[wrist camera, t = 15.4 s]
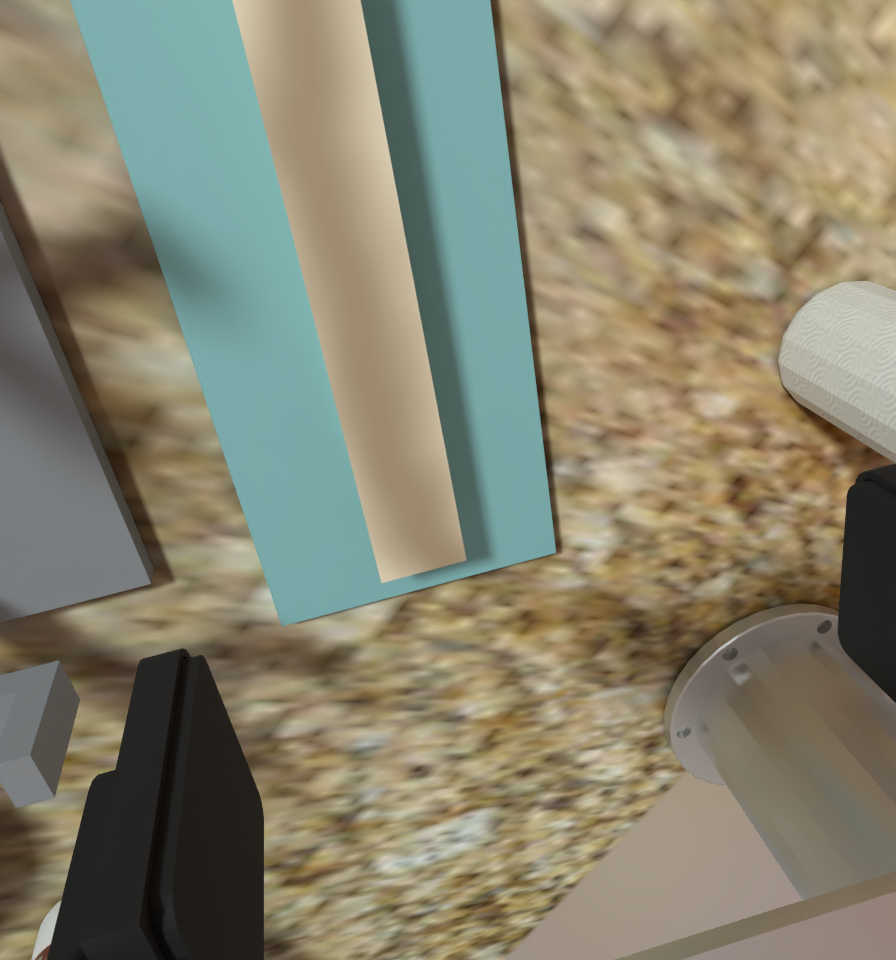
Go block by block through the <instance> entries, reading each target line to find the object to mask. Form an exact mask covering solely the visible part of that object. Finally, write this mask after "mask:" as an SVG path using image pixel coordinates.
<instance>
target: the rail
mask: <svg viewBox="0 0 896 960" xmlns="http://www.w3.org/2000/svg"><path fill="white" fill-rule="evenodd" d="M232 2H233V6H234V9H235V13H236V17H237V21H238V25H239V29H240V33H241V37H242V41H243V45H244V48H245V52H246V56H247V60H248V64H249V68H250V72H251V76H252V80H253V84H254V88H255V91H256V95H257V99H258V103H259V107H260V111H261V115H262V119H263V123H264V127H265V130H266V134H267V138H268V142H269V146H270V150H271V154H272V158H273V162H274V166H275V170H276V173H277V177H278V181H279V185H280V189H281V193H282V197H283V201H284V205H285V209H286V212H287V216H288V220H289V224H290V228H291V232H292V236H293V240H294V244H295V248H296V252H297V255H298V259H299V263H300V267H301V271H302V275H303V279H304V283H305V287H306V291H307V294H308V298H309V302H310V306H311V310H312V314H313V318H314V322H315V326H316V330H317V334H318V337H319V341H320V345H321V349H322V353H323V357H324V361H325V365H326V369H327V373H328V377H329V380H330V384H331V388H332V392H333V396H334V400H335V404H336V408H337V412H338V416H339V419H340V423H341V427H342V431H343V435H344V439H345V443H346V447H347V451H348V455H349V459H350V462H351V466H352V470H353V474H354V478H355V482H356V486H357V490H358V494H359V498H360V501H361V505H362V509H363V513H364V517H365V521H366V525H367V529H368V533H369V537H370V541H371V544H372V548H373V552H374V556H375V560H376V564H377V568H378V572H379V576H380V579H381V583H384V582H388V581H392V580H396V579H399V578H403V577H407V576H410V575H414V574H418V573H422V572H425V571H429V570H433V569H437V568H440V567H444V566H448V565H451V564H455V563H459V562H463V561H466V555H465V550H464V545H463V539H462V534H461V529H460V523H459V518H458V513H457V508H456V502H455V497H454V492H453V486H452V481H451V476H450V471H449V465H448V460H447V455H446V449H445V444H444V439H443V434H442V428H441V423H440V418H439V412H438V407H437V402H436V397H435V391H434V386H433V381H432V375H431V370H430V365H429V360H428V354H427V349H426V344H425V338H424V333H423V328H422V323H421V317H420V312H419V307H418V301H417V296H416V291H415V286H414V280H413V275H412V270H411V264H410V259H409V254H408V249H407V243H406V238H405V233H404V227H403V222H402V217H401V212H400V206H399V201H398V196H397V190H396V185H395V180H394V175H393V169H392V164H391V159H390V153H389V148H388V143H387V138H386V132H385V127H384V122H383V116H382V111H381V106H380V101H379V95H378V90H377V85H376V79H375V74H374V69H373V64H372V58H371V53H370V48H369V42H368V37H367V32H366V27H365V21H364V16H363V11H362V5H361V0H232Z"/></svg>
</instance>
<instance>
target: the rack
mask: <svg viewBox="0 0 896 960" xmlns="http://www.w3.org/2000/svg"><path fill="white" fill-rule="evenodd" d="M153 571H154V567H153V565H152V562H151V560H150V558H149V555H148V553H147V551H146V548H145V546H144V543H143V541H142V539H141V536H140V534H139V531H138V529H137V527H136V524H135V522H134V519H133V517H132V515H131V512H130V510H129V507H128V505H127V503H126V500H125V498H124V496H123V493H122V491H121V488H120V486H119V484H118V481H117V479H116V476H115V474H114V472H113V469H112V467H111V464H110V462H109V460H108V457H107V455H106V453H105V450H104V448H103V445H102V443H101V441H100V438H99V436H98V433H97V431H96V429H95V426H94V424H93V421H92V419H91V417H90V414H89V412H88V409H87V407H86V405H85V402H84V400H83V398H82V395H81V393H80V390H79V388H78V386H77V383H76V381H75V378H74V376H73V374H72V371H71V369H70V366H69V364H68V362H67V359H66V357H65V355H64V352H63V350H62V347H61V345H60V343H59V340H58V338H57V335H56V333H55V331H54V328H53V326H52V323H51V321H50V319H49V316H48V314H47V311H46V309H45V307H44V304H43V302H42V300H41V297H40V295H39V292H38V290H37V288H36V285H35V283H34V280H33V278H32V276H31V273H30V271H29V268H28V266H27V264H26V261H25V259H24V256H23V254H22V252H21V249H20V247H19V245H18V242H17V240H16V237H15V235H14V233H13V230H12V228H11V225H10V223H9V221H8V218H7V216H6V213H5V211H4V209H3V206H2V204H1V202H0V623H2V622H5V621H9V620H13V619H17V618H21V617H25V616H29V615H33V614H36V613H40V612H44V611H48V610H52V609H56V608H60V607H64V606H67V605H71V604H75V603H79V602H83V601H87V600H91V599H95V598H98V597H102V596H106V595H110V594H114V593H118V592H122V591H126V590H130V589H133V588H137V587H141V586H145V585H149V584H151V582H152V576H153ZM79 701H80V698H79V697H78V695H77V693H76V691H75V689H74V687H73V685H72V683H71V681H70V679H69V677H68V676H67V674H66V672H65V670H64V668H63V666H62V664H61V662H60V660H58V661H54V662H50V663H47V664H43V665H39V666H35V667H32V668H28V669H24V670H20V671H16V672H13V673H9V674H5V675H1V676H0V783H1V785H2V786H3V788H4V789H5V791H6V793H7V794H8V796H9V797H10V799H11V801H12V802H13V804H14V805H15V807H16V808H18V807H22V806H25V805H29V804H32V803H36V802H39V801H43V800H46V799H50V798H53V797H55V794H56V790H57V786H58V782H59V779H60V775H61V771H62V767H63V763H64V759H65V755H66V752H67V748H68V744H69V740H70V736H71V732H72V728H73V724H74V721H75V717H76V713H77V709H78V705H79Z"/></svg>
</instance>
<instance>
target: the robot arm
mask: <svg viewBox="0 0 896 960" xmlns="http://www.w3.org/2000/svg"><path fill="white" fill-rule="evenodd" d="M664 731H665V735H666V739H667V743H668V744H669V746H670V748H671V750H672V751H673V753H674V755H675V757H676V759H677V760H678V761H679V762H680V764H681V765H682V766H683V767H684V769H685V770H687V771H688V772H689V773H691V774H692V775H694V776H695V777H697V778H699V779H702V780H704V781H707V782H710V783H714V784H719V785H727V786H728V788H729V789H730V791H731V792H732V794H733V795H734V797H735V798H736V800H737V801H738V803H739V804H740V806H741V807H742V809H743V811H744V812H745V813H746V815H747V817H748V818H749V820H750V821H751V823H752V824H753V825H754V827H755V829H756V830H757V832H758V833H759V835H760V836H761V838H762V839H763V841H764V842H765V844H766V845H767V847H768V848H769V850H770V851H771V853H772V855H773V856H774V858H775V859H776V861H777V862H778V864H779V865H780V867H781V868H782V870H783V871H784V873H785V874H786V876H787V877H788V879H789V880H790V882H791V883H792V885H793V886H794V888H795V889H796V891H797V892H798V894H799V895H800V897H801V898H802V900H803V901H800V902H797V903H793V904H791V905H787V906H784V907H781V908H777V909H774V910H771V911H768V912H765V913H762V914H758V915H755V916H752V917H749V918H746V919H742V920H739V921H736V922H733V923H730V924H727V925H723V926H720V927H717V928H714V929H711V930H707V931H704V932H701V933H698V934H695V935H692V936H688V937H686V938H682V939H679V940H676V941H672V942H670V943H666V944H663V945H660V946H657V947H654V948H651V949H648V950H645V951H641V952H639V953H635V954H632V955H629V956H626V957H623V958H619V959H616V960H896V464H892V465H888V466H885V467H881V468H877V469H873V470H869V471H865V472H863V473H861V474H860V475H859V476H858V478H857V479H856V483H855V485H853V486H851V487H850V488H849V490H848V494H847V503H846V517H845V531H844V545H843V559H842V573H841V587H840V601H839V612H838V611H836V610H834V609H832V608H828V607H825V606H821V605H816V604H791V605H783V606H777V607H774V608H770V609H767V610H763V611H760V612H757V613H755V614H753V615H750V616H748V617H746V618H744V619H741V620H739V621H737V622H736V623H734V624H732V625H731V626H729V627H728V628H726V629H724V630H723V631H721V632H719V633H718V634H717V635H716V636H715V637H713V638H712V639H711V640H710V641H708V642H707V643H706V644H705V645H704V646H702V647H701V648H700V650H699V651H698V652H697V653H696V654H695V655H694V656H693V657H692V658H691V659H690V660H689V661H688V663H687V664H686V666H685V667H684V668H683V670H682V671H681V673H680V674H679V676H678V677H677V679H676V681H675V683H674V685H673V687H672V689H671V691H670V694H669V696H668V699H667V703H666V707H665V711H664ZM47 960H264V815H263V808H262V803H261V799H260V795H259V792H258V789H257V787H256V784H255V782H254V779H253V777H252V774H251V772H250V769H249V767H248V764H247V762H246V759H245V757H244V754H243V752H242V749H241V747H240V744H239V742H238V739H237V737H236V734H235V732H234V729H233V726H232V724H231V721H230V719H229V716H228V714H227V711H226V709H225V706H224V704H223V701H222V699H221V696H220V694H219V691H218V689H217V686H216V684H215V681H214V679H213V676H212V674H211V671H210V669H209V666H208V664H207V662H206V659H205V658H204V657H203V656H202V655H199V656H195V657H190V655H189V653H188V652H187V651H186V649H183V648H182V649H179V650H175V651H171V652H167V653H163V654H159V655H155V656H152V657H148V658H144V659H142V660H140V662H139V665H138V668H137V673H136V678H135V682H134V687H133V691H132V696H131V701H130V705H129V710H128V715H127V719H126V724H125V728H124V733H123V738H122V742H121V747H120V751H119V756H118V761H117V765H116V770H114V771H110V772H106V773H103V774H99V775H97V776H96V777H95V778H94V779H93V781H92V783H91V786H90V788H89V791H88V795H87V799H86V803H85V807H84V811H83V815H82V819H81V824H80V828H79V832H78V836H77V840H76V844H75V848H74V852H73V856H72V860H71V864H70V868H69V872H68V876H67V880H66V884H65V888H64V892H63V896H62V900H61V904H60V908H59V912H58V916H57V920H56V924H55V928H54V933H53V937H52V941H51V945H50V949H49V953H48V957H47Z"/></svg>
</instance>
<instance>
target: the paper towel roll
mask: <svg viewBox="0 0 896 960" xmlns="http://www.w3.org/2000/svg"><path fill="white" fill-rule="evenodd" d="M778 365H779V370H780V375H781V381H782V384H783V386H784V387H785V388H786V389H787V390H788V392H789V393H790V394H791V395H792V397H793V398H794V399H795V400H796V401H797V402H798V403H800V404H801V405H803V406H805V407H806V408H808V409H809V410H811V411H813V412H814V413H816V414H817V415H819V416H820V417H822V418H824V419H825V420H827V421H828V422H830V423H832V424H833V425H835V426H836V427H838V428H840V429H841V430H843V431H844V432H846V433H848V434H849V435H851V436H852V437H854V438H856V439H857V440H859V441H860V442H862V443H864V444H865V445H867V446H868V447H870V448H872V449H873V450H875V451H876V452H878V453H879V454H881V455H883V456H884V457H886V458H887V459H889V460H891V461H892V462H894V463H895V464H896V291H894V290H892V289H889V288H886V287H883V286H881V285H878V284H875V283H872V282H870V281H856V282H840V283H838V284H836V285H834V286H832V287H830V288H828V289H825V290H823V291H821V292H819V293H817V294H816V295H815V296H814V297H813V298H812V299H811V300H809V301H808V302H807V303H806V304H805V305H804V306H803V307H802V308H801V309H800V310H799V311H798V312H797V313H796V314H795V316H794V318H793V320H792V321H791V323H790V325H789V327H788V328H787V330H786V332H785V334H784V335H783V338H782V343H781V348H780V353H779V358H778Z"/></svg>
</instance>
